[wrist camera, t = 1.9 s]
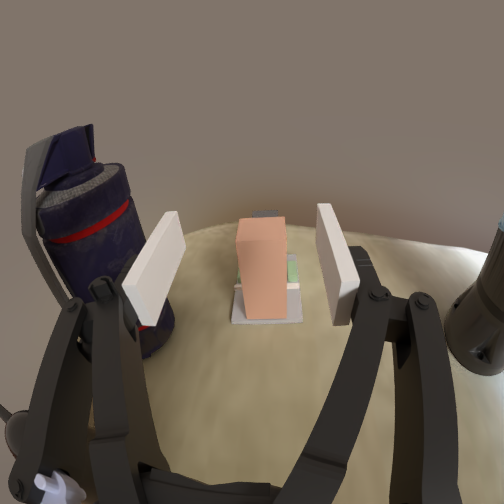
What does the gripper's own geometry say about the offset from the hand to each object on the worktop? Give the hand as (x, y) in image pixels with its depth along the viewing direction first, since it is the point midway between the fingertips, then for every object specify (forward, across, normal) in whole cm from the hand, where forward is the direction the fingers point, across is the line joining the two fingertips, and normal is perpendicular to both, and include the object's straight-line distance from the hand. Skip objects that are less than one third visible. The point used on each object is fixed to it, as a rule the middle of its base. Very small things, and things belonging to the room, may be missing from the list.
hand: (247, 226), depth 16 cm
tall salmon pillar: (+13, 0, -21) cm, 25 cm away
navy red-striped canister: (+7, -19, -22) cm, 30 cm away
